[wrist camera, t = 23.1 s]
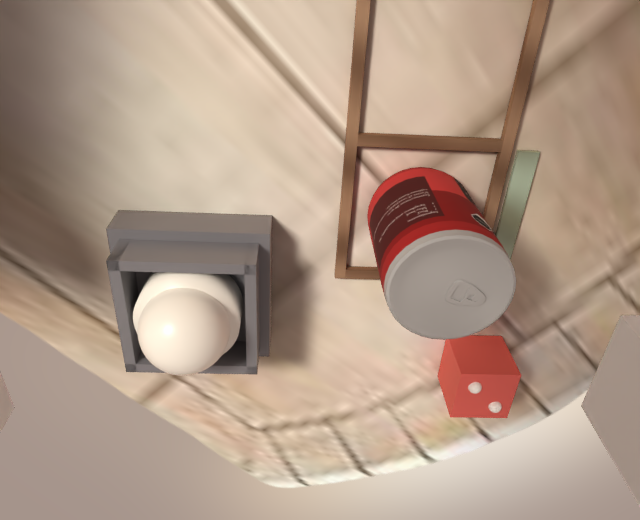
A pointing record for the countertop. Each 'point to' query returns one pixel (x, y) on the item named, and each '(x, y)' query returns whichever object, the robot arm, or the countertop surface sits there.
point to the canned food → (437, 256)
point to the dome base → (194, 257)
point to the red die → (478, 377)
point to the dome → (187, 320)
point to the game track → (445, 144)
